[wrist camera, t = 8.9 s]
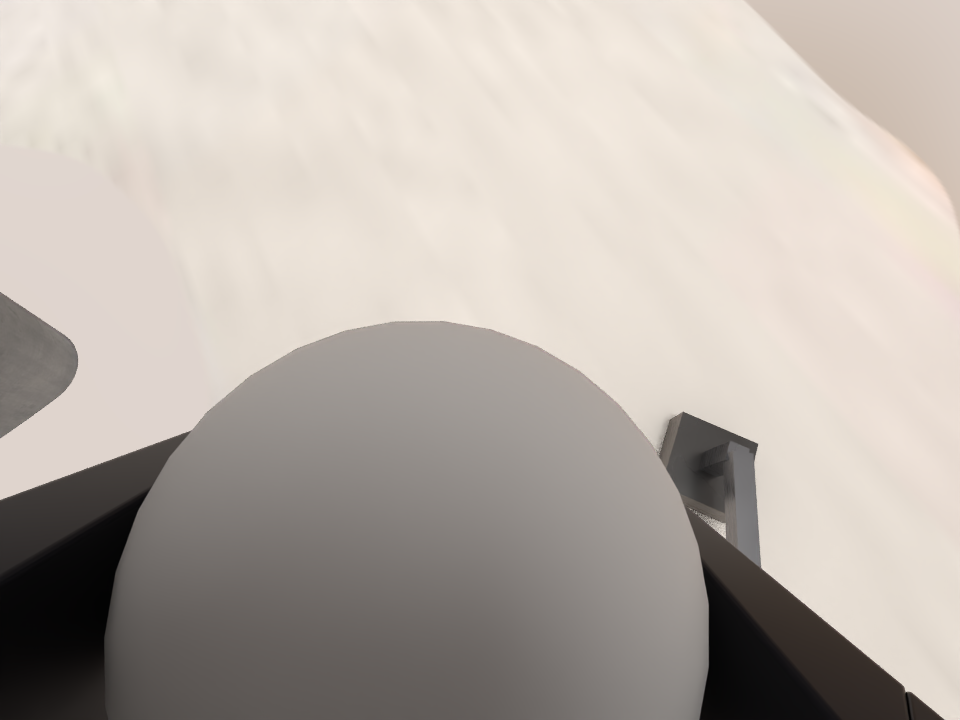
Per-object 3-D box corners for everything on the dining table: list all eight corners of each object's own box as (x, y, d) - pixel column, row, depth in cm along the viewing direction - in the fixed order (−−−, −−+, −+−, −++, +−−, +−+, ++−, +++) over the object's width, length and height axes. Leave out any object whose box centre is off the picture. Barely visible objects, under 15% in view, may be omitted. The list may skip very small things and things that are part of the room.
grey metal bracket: (608, 1037, 16) (656, 1155, 13) (488, 978, 16) (505, 1079, 13) (749, 453, 22) (804, 433, 19) (662, 416, 23) (702, 390, 19)
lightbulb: (598, 594, 14) (1038, 625, 4) (407, 799, 12) (312, 1845, 2) (438, 414, 16) (461, 90, 5) (244, 575, 14) (-296, 551, 3)
